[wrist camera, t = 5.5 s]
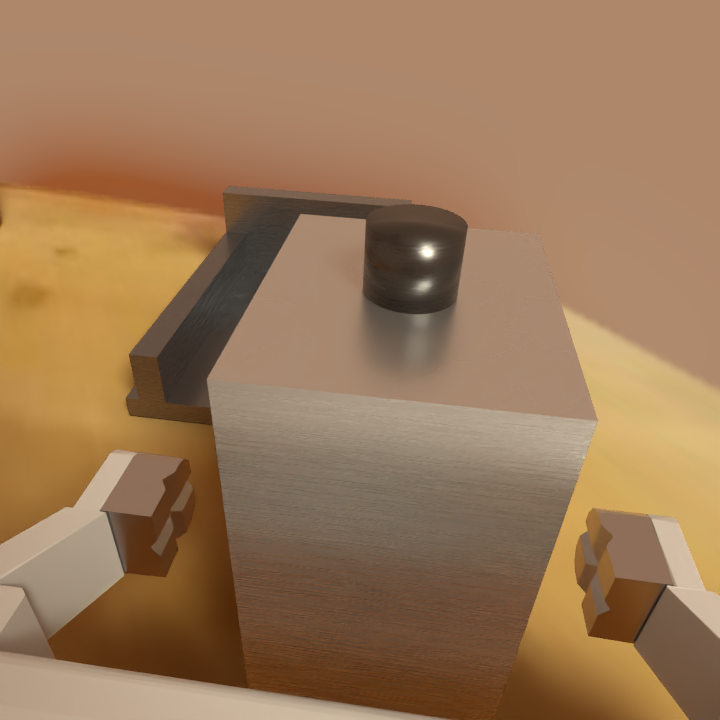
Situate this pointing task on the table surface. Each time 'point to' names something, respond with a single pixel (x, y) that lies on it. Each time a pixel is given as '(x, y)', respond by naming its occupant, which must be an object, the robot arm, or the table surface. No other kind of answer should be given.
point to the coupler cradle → (222, 298)
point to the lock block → (396, 458)
